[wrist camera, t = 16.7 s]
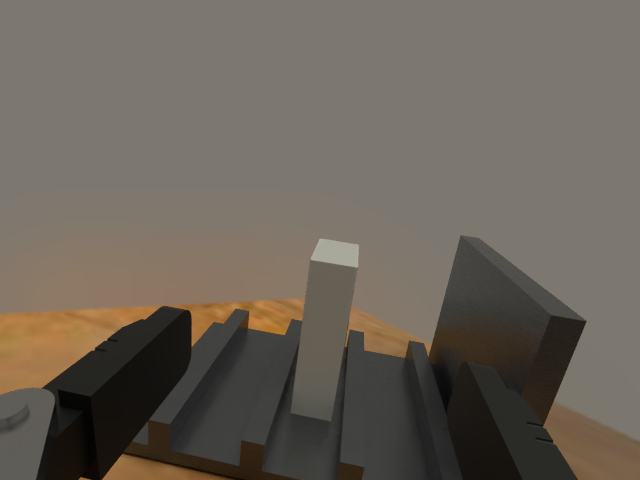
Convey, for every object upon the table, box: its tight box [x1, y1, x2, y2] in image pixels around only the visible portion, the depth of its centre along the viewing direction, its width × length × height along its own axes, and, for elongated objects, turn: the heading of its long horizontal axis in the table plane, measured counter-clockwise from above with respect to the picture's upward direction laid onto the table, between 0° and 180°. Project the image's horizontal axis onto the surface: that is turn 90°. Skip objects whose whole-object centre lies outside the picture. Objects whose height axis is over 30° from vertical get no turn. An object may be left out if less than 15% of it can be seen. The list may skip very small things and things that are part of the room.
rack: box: [124, 236, 586, 480], centre depth 24 cm, size 23×15×14 cm, turn 82°
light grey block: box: [291, 239, 359, 421], centre depth 24 cm, size 3×5×12 cm, turn 172°
